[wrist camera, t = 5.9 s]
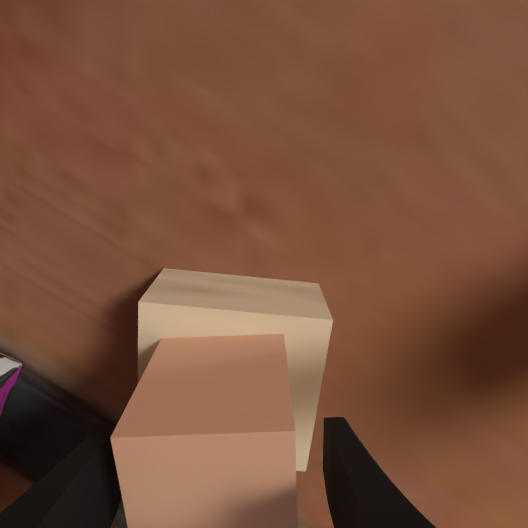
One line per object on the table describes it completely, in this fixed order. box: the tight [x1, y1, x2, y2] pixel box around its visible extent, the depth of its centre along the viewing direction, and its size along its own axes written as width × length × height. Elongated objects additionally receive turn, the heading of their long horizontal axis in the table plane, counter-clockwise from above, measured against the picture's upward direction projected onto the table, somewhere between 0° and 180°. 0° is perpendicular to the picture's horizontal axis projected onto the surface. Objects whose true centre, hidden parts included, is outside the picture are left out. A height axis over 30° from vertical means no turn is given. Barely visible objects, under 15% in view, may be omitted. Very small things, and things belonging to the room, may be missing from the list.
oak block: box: [138, 268, 333, 471], centre depth 17 cm, size 7×7×4 cm
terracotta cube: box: [110, 334, 297, 528], centre depth 12 cm, size 4×4×5 cm
